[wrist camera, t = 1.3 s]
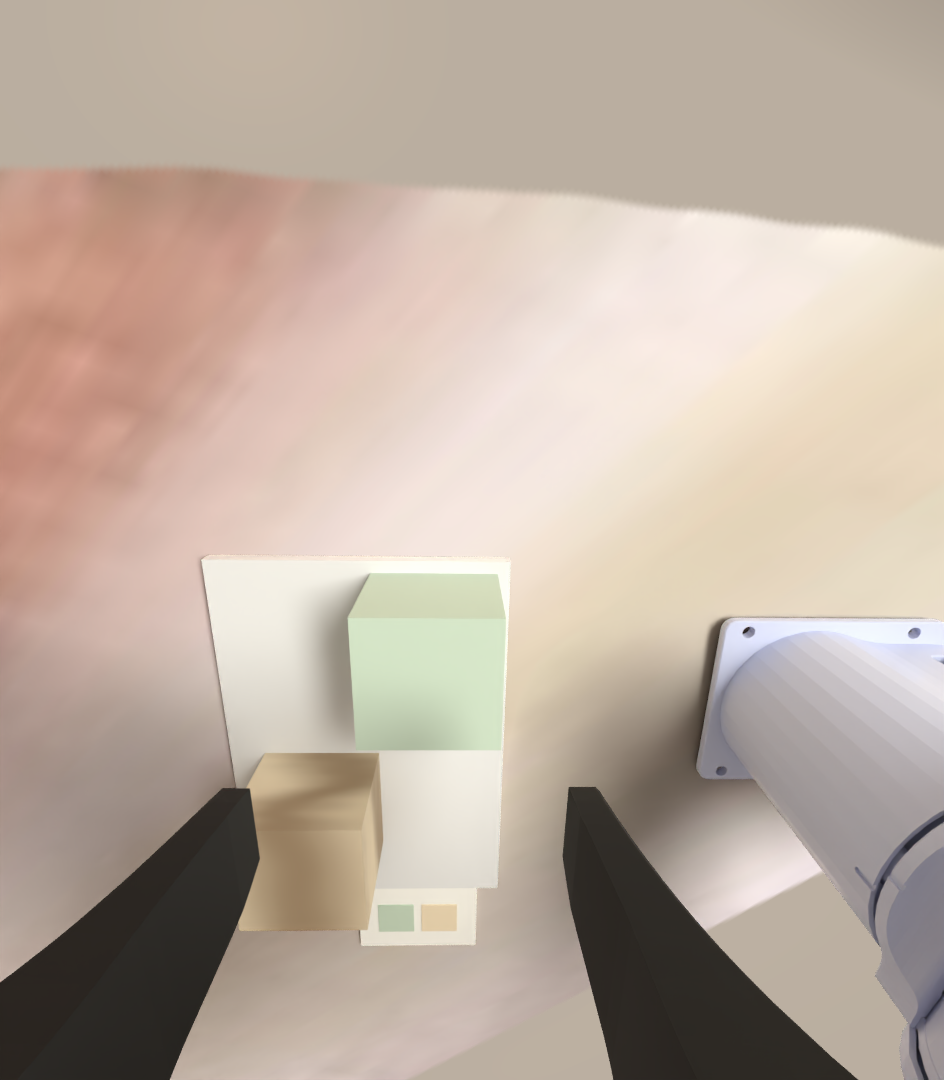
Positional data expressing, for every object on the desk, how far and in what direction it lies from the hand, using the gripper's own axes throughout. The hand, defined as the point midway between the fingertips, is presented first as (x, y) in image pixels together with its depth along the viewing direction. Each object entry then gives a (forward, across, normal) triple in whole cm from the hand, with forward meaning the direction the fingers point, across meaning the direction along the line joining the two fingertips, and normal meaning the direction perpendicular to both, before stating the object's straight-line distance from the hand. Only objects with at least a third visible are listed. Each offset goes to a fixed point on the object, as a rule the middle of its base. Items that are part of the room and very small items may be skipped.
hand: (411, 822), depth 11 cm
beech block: (+9, +5, +8) cm, 14 cm away
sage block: (+9, 0, 0) cm, 9 cm away
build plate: (+10, +3, +6) cm, 12 cm away
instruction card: (+10, +1, +16) cm, 19 cm away
